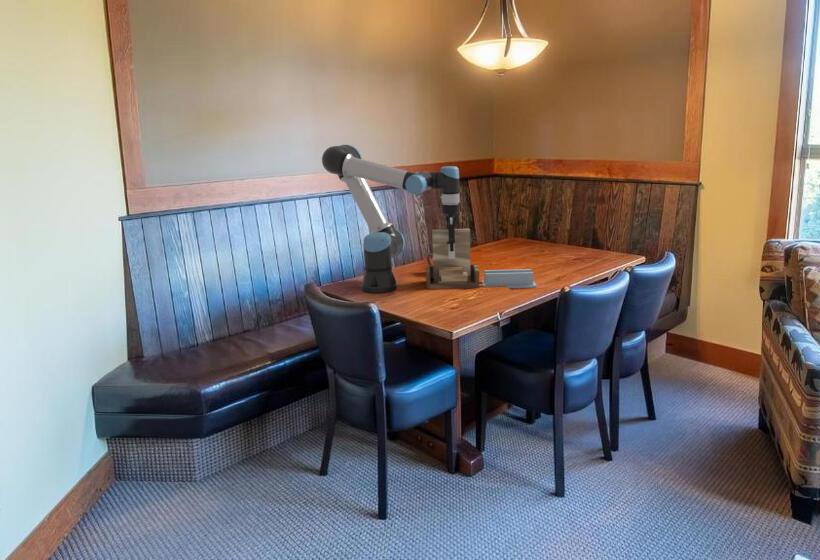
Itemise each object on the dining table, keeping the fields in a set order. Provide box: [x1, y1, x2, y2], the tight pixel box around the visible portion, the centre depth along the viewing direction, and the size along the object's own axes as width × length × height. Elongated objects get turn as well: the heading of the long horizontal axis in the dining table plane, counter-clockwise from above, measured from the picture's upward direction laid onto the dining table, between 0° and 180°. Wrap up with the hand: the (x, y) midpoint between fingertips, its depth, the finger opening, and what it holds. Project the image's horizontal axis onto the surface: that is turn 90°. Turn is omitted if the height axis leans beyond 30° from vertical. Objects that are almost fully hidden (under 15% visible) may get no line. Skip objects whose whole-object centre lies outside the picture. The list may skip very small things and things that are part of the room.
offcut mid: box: [441, 272, 468, 282], centre depth 260 cm, size 5×11×2 cm, turn 88°
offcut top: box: [439, 267, 463, 276], centre depth 259 cm, size 5×10×2 cm, turn 91°
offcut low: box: [438, 279, 467, 283], centre depth 260 cm, size 5×12×2 cm, turn 88°
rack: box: [425, 263, 480, 290], centre depth 262 cm, size 14×22×8 cm, turn 88°
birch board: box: [431, 228, 471, 283], centre depth 264 cm, size 2×16×23 cm, turn 88°
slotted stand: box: [481, 268, 537, 289], centre depth 261 cm, size 10×22×6 cm, turn 88°
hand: (451, 256), depth 264 cm, fingers open, 9 cm apart
